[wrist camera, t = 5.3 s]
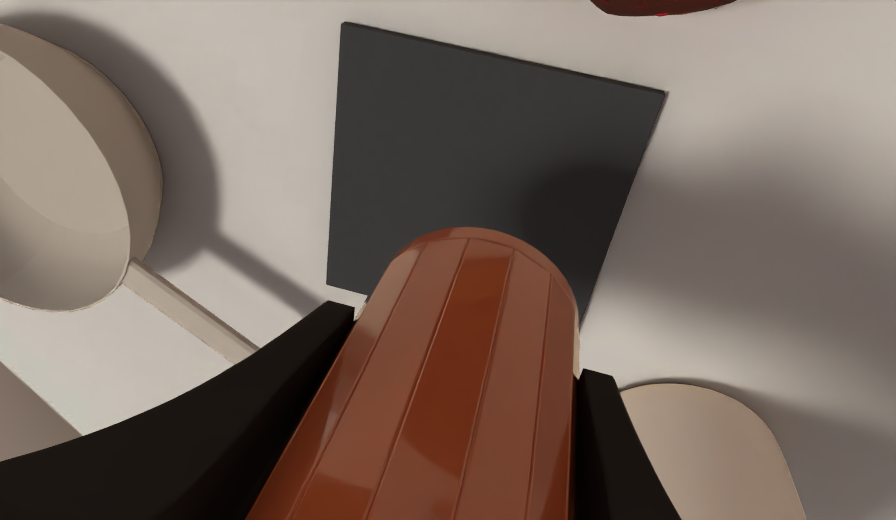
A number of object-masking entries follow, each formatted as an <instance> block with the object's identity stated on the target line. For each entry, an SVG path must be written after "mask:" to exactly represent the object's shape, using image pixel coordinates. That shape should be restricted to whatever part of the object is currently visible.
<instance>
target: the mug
mask: <svg viewBox="0 0 896 520" xmlns="http://www.w3.org/2000/svg"><path fill="white" fill-rule="evenodd" d="M620 395H621V397H622V400H623V402H624V405H625V407H626V409H627V412H628V414H629V417H630V419H631V421H632V423H633V426H634V428H635V430H636V433H637V435H638V437H639V439H640V441H641V443H642V446H643V448H644V450H645V452H646V454H647V456H648V458H649V460H650V462H651V464H652V466H653V468H654V470H655V472H656V474H657V476H658V478H659V480H660V482H661V484H662V486H663V487H664V489H665V491H666V493H667V495H668V496H669V498H670V500H671V502H672V504H673V505H674V507H675V509H676V511H677V512H678V514H679V516H680V517H681V519H682V520H807V519H806V516H805V513H804V511H803V508H802V505H801V502H800V499H799V497H798V494H797V491H796V488H795V485H794V483H793V480H792V477H791V474H790V471H789V469H788V466H787V463H786V461H785V458H784V456H783V454H782V452H781V449H780V447H779V445H778V443H777V441H776V439H775V437H774V436H773V434H772V432H771V431H770V429H769V428H768V427H767V425H766V424H765V423H764V422H763V421H762V420H761V419H760V418H759V417H758V416H757V415H756V414H755V413H754V412H753V411H751V410H750V409H749V408H747V407H746V406H745V405H743V404H742V403H740V402H738V401H737V400H735V399H733V398H731V397H729V396H726V395H724V394H722V393H719V392H716V391H713V390H710V389H707V388H702V387H697V386H692V385H684V384H651V385H645V386H639V387H635V388H631V389H628V390H624V391H622V392H620Z"/></svg>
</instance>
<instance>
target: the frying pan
mask: <svg viewBox="0 0 896 520" xmlns="http://www.w3.org/2000/svg"><path fill="white" fill-rule="evenodd" d="M162 193H163V179H162V169H161V165H160V161H159V158H158V154H157V150H156V148H155V146H154V143H153V141H152V138H151V136H150V134H149V131H148V130H147V128H146V126H145V125H144V123H143V121H142V119H141V118H140V116H139V114H138V113H137V111H136V110H135V109H134V107H133V106H132V105H131V103H130V102H129V101H128V100H127V98H126V97H125V96H124V94H123V93H122V92H121V91H120V90H119V89H118V88H117V87H116V86H115V85H114V84H113V83H112V82H111V81H110V80H109V79H108V78H107V77H106V76H105V75H103V74H102V73H101V72H100V71H99V70H97V69H96V68H95V67H94V66H92V65H91V64H90V63H88V62H87V61H85V60H84V59H82V58H80V57H79V56H77V55H75V54H74V53H72V52H71V51H68V50H66V49H64V48H62V47H59V46H57V45H55V44H52V43H49V42H47V41H45V40H43V39H40V38H38V37H36V36H33V35H31V34H29V33H27V32H24V31H22V30H19V29H16V28H12V27H9V26H6V25H3V24H0V299H2V300H5V301H7V302H9V303H12V304H16V305H19V306H23V307H26V308H29V309H34V310H41V311H47V312H73V311H78V310H82V309H87V308H90V307H92V306H94V305H96V304H98V303H100V302H102V301H104V300H105V299H106V298H107V297H108V296H109V295H110V294H111V293H113V292H114V291H115V290H116V289H117V288H118V287H119V286H120V285H121V284H122V283H123V284H124V285H125V286H127V287H128V288H129V289H131V290H132V291H134V292H135V293H136V294H138V295H139V296H141V297H142V298H143V299H145V300H146V301H147V302H149V303H150V304H152V305H153V306H154V307H156V308H157V309H159V310H160V311H161V312H163V313H164V314H165V315H167V316H168V317H170V318H171V319H172V320H174V321H175V322H177V323H178V324H179V325H181V326H182V327H183V328H185V329H186V330H188V331H189V332H190V333H192V334H193V335H195V336H196V337H197V338H199V339H200V340H201V341H203V342H204V343H206V344H207V345H208V346H210V347H211V348H213V349H214V350H215V351H217V352H218V353H219V354H221V355H222V356H224V357H225V358H226V359H228V360H229V361H231V362H232V363H233V364H237V363H239V362H240V361H242V360H244V359H245V358H247V357H248V356H250V355H252V354H253V353H255V352H256V351H258V350H259V349H260V348H259V347H258V346H256V345H255V344H253V343H252V342H251V341H249V340H248V339H247V338H245V337H244V336H243V335H241V334H240V333H238V332H237V331H236V330H234V329H233V328H232V327H230V326H229V325H227V324H226V323H225V322H223V321H222V320H221V319H219V318H218V317H217V316H215V315H214V314H212V313H211V312H210V311H208V310H207V309H206V308H204V307H203V306H201V305H200V304H199V303H197V302H196V301H195V300H193V299H192V298H190V297H189V296H188V295H186V294H185V293H184V292H182V291H181V290H180V289H178V288H177V287H175V286H174V285H173V284H171V283H170V282H169V281H167V280H166V279H164V278H163V277H162V276H160V275H159V274H158V273H156V272H155V271H154V270H152V269H151V268H149V267H148V266H147V265H145V264H144V263H143V262H142V261H143V259H144V258H145V256H146V255H147V253H148V251H149V249H150V246H151V243H152V240H153V237H154V233H155V230H156V227H157V224H158V220H159V208H160V205H161V202H162Z"/></svg>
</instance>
